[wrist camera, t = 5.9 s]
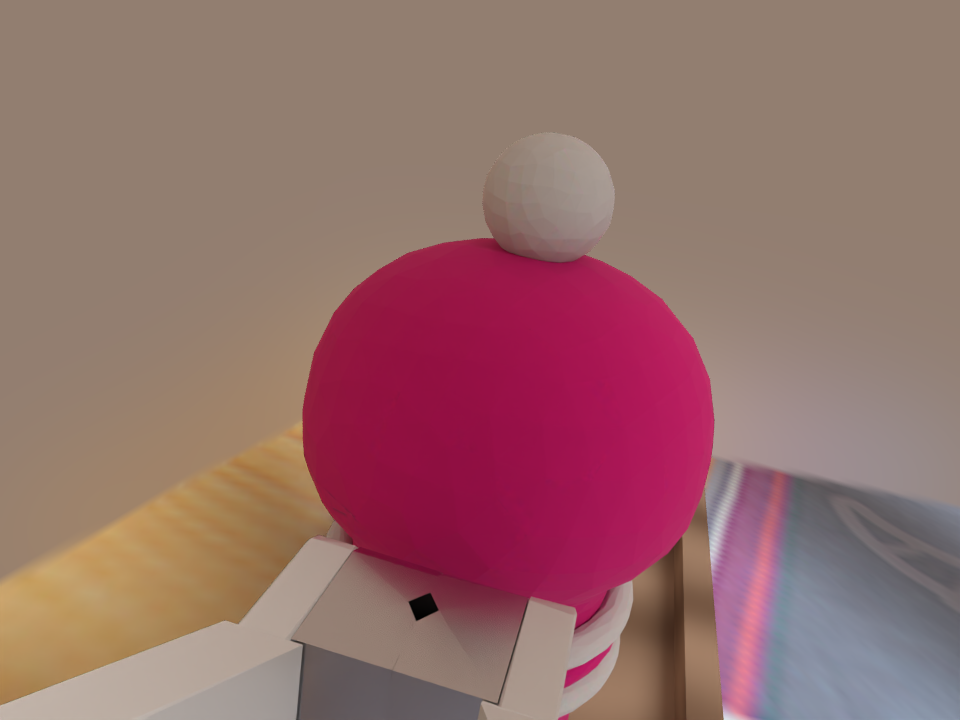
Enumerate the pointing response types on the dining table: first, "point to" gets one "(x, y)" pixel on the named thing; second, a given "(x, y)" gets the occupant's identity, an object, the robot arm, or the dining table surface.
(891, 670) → the dining table surface
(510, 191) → the pepper mill
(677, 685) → the walnut tray
